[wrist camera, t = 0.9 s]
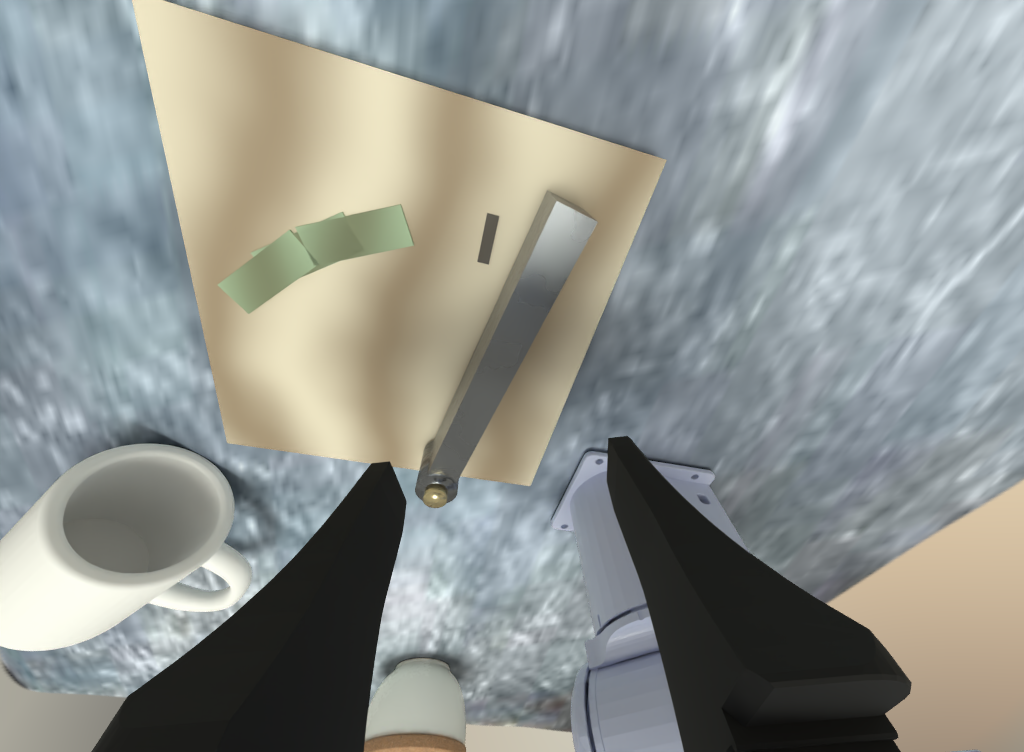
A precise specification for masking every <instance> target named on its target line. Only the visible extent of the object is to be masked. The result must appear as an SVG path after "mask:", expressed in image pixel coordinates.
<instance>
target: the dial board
mask: <svg viewBox="0 0 1024 752" xmlns="http://www.w3.org/2000/svg"><path fill="white" fill-rule="evenodd" d="M132 2H133V7H134V11H135V16H136V21H137V25H138V30H139V35H140V39H141V44H142V48H143V53H144V58H145V62H146V67H147V72H148V76H149V81H150V86H151V90H152V95H153V100H154V104H155V109H156V114H157V118H158V123H159V128H160V132H161V137H162V142H163V146H164V151H165V155H166V160H167V165H168V169H169V174H170V179H171V183H172V188H173V193H174V197H175V202H176V207H177V211H178V216H179V221H180V225H181V230H182V235H183V239H184V244H185V248H186V253H187V258H188V262H189V267H190V272H191V276H192V281H193V286H194V290H195V295H196V300H197V304H198V309H199V314H200V318H201V323H202V328H203V332H204V337H205V341H206V346H207V351H208V355H209V360H210V365H211V369H212V374H213V379H214V383H215V388H216V393H217V397H218V402H219V407H220V411H221V416H222V421H223V425H224V430H225V435H226V439H227V443H231V444H238V445H245V446H252V447H259V448H266V449H273V450H280V451H287V452H294V453H301V454H308V455H315V456H322V457H329V458H336V459H343V460H350V461H357V462H364V463H371V464H372V463H379V462H388V461H390V463H391V465H392V467H399V468H406V469H413V470H419V469H420V465H421V460H422V456H423V451H424V448H425V446H426V445H427V444H428V443H429V442H431V441H433V440H434V439H435V437H436V434H437V432H438V430H439V428H440V425H441V423H442V421H443V419H444V417H445V414H446V412H447V410H448V408H449V406H450V403H451V401H452V399H453V397H454V395H455V392H456V390H457V388H458V386H459V384H460V381H461V379H462V377H463V375H464V373H465V370H466V368H467V366H468V364H469V362H470V359H471V357H472V355H473V353H474V351H475V348H476V346H477V344H478V342H479V340H480V337H481V335H482V333H483V331H484V329H485V326H486V324H487V322H488V320H489V317H490V315H491V313H492V311H493V309H494V306H495V304H496V302H497V300H498V298H499V295H500V293H501V291H502V289H503V287H504V284H505V282H506V280H507V278H508V276H509V273H510V271H511V269H512V267H513V265H514V262H515V260H516V258H517V256H518V254H519V251H520V249H521V247H522V245H523V243H524V240H525V238H526V236H527V234H528V232H529V229H530V227H531V225H532V223H533V220H534V218H535V216H536V214H537V212H538V209H539V207H540V205H541V203H542V201H543V198H544V196H545V194H546V192H547V190H548V191H550V192H552V193H554V194H556V195H558V196H560V197H561V198H563V199H565V200H567V201H569V202H571V203H573V204H575V205H577V206H579V207H581V208H583V209H584V210H585V211H586V212H587V213H589V214H590V215H591V216H592V217H593V218H594V219H595V220H596V221H597V222H598V223H597V225H596V227H595V228H594V230H593V232H592V234H591V236H590V238H589V240H588V241H587V243H586V245H585V247H584V249H583V251H582V252H581V254H580V256H579V258H578V260H577V262H576V264H575V265H574V267H573V269H572V271H571V273H570V275H569V276H568V278H567V280H566V282H565V284H564V286H563V288H562V289H561V291H560V293H559V295H558V297H557V299H556V300H555V302H554V304H553V306H552V308H551V310H550V311H549V313H548V315H547V317H546V319H545V321H544V323H543V324H542V326H541V328H540V330H539V332H538V334H537V335H536V337H535V339H534V341H533V343H532V345H531V347H530V348H529V350H528V352H527V354H526V356H525V358H524V359H523V361H522V363H521V365H520V367H519V369H518V371H517V372H516V374H515V376H514V378H513V380H512V382H511V383H510V385H509V387H508V389H507V391H506V393H505V395H504V396H503V398H502V400H501V402H500V404H499V406H498V407H497V409H496V411H495V413H494V415H493V417H492V418H491V420H490V422H489V424H488V426H487V428H486V430H485V431H484V433H483V435H482V437H481V439H480V441H479V442H478V444H477V446H476V448H475V450H474V452H473V454H472V455H471V457H470V459H469V461H468V463H467V465H466V466H465V468H464V470H463V472H462V474H461V476H462V477H470V478H477V479H484V480H491V481H498V482H505V483H512V484H519V485H526V486H531V483H532V481H533V479H534V476H535V474H536V471H537V469H538V467H539V464H540V462H541V459H542V457H543V455H544V452H545V450H546V447H547V445H548V443H549V440H550V438H551V435H552V433H553V431H554V428H555V426H556V424H557V421H558V419H559V416H560V414H561V412H562V409H563V407H564V404H565V402H566V400H567V397H568V395H569V392H570V390H571V388H572V385H573V383H574V380H575V378H576V376H577V373H578V371H579V369H580V366H581V364H582V361H583V359H584V357H585V354H586V352H587V349H588V347H589V345H590V342H591V340H592V337H593V335H594V333H595V330H596V328H597V325H598V323H599V321H600V318H601V316H602V314H603V311H604V309H605V306H606V304H607V302H608V299H609V297H610V294H611V292H612V290H613V287H614V285H615V282H616V280H617V278H618V275H619V273H620V270H621V268H622V266H623V263H624V261H625V258H626V256H627V254H628V251H629V249H630V247H631V244H632V242H633V239H634V237H635V235H636V232H637V230H638V227H639V225H640V223H641V220H642V218H643V215H644V213H645V211H646V208H647V206H648V203H649V201H650V199H651V196H652V194H653V192H654V189H655V187H656V184H657V182H658V180H659V177H660V175H661V172H662V170H663V168H664V165H665V163H666V160H665V159H662V158H659V157H656V156H652V155H649V154H646V153H643V152H640V151H637V150H633V149H630V148H627V147H624V146H621V145H618V144H615V143H611V142H608V141H605V140H602V139H599V138H596V137H592V136H589V135H586V134H583V133H580V132H577V131H574V130H570V129H567V128H564V127H561V126H558V125H555V124H551V123H548V122H545V121H542V120H539V119H536V118H533V117H529V116H526V115H523V114H520V113H517V112H514V111H510V110H507V109H504V108H501V107H498V106H495V105H492V104H488V103H485V102H482V101H479V100H476V99H473V98H470V97H466V96H463V95H460V94H457V93H454V92H451V91H447V90H444V89H441V88H438V87H435V86H432V85H429V84H425V83H422V82H419V81H416V80H413V79H410V78H406V77H403V76H400V75H397V74H394V73H391V72H388V71H384V70H381V69H378V68H375V67H372V66H369V65H365V64H362V63H359V62H356V61H353V60H350V59H347V58H343V57H340V56H337V55H334V54H331V53H328V52H324V51H321V50H318V49H315V48H312V47H309V46H306V45H302V44H299V43H296V42H293V41H290V40H287V39H283V38H280V37H277V36H274V35H271V34H268V33H265V32H261V31H258V30H255V29H252V28H249V27H246V26H242V25H239V24H236V23H233V22H230V21H227V20H224V19H220V18H217V17H214V16H211V15H208V14H205V13H202V12H198V11H195V10H192V9H189V8H186V7H183V6H179V5H176V4H173V3H170V2H167V1H164V0H132Z"/></svg>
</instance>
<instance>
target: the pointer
mask: <svg viewBox="0 0 1024 752" xmlns="http://www.w3.org/2000/svg"><path fill="white" fill-rule="evenodd" d="M597 223H598V222H597V221H596V220H595V219H594V218H593V217H592V216H591V215H590V214H589V213H587V212H586V211H585V210H584V209H583V208H581V207H579V206H577V205H575V204H573V203H571V202H569V201H567V200H565V199H563V198H561V197H560V196H558V195H556V194H554V193H552V192H550V191H548V190H547V192H546V194H545V196H544V198H543V201H542V203H541V205H540V207H539V209H538V212H537V214H536V216H535V218H534V220H533V223H532V225H531V227H530V229H529V232H528V234H527V236H526V238H525V240H524V243H523V245H522V247H521V249H520V251H519V254H518V256H517V258H516V260H515V262H514V265H513V267H512V269H511V271H510V273H509V276H508V278H507V280H506V282H505V284H504V287H503V289H502V291H501V293H500V295H499V298H498V300H497V302H496V304H495V306H494V309H493V311H492V313H491V315H490V317H489V320H488V322H487V324H486V326H485V329H484V331H483V333H482V335H481V337H480V340H479V342H478V344H477V346H476V348H475V351H474V353H473V355H472V357H471V359H470V362H469V364H468V366H467V368H466V370H465V373H464V375H463V377H462V379H461V381H460V384H459V386H458V388H457V390H456V392H455V395H454V397H453V399H452V401H451V403H450V406H449V408H448V410H447V412H446V414H445V417H444V419H443V421H442V423H441V425H440V428H439V430H438V432H437V434H436V437H435V439H434V440H433V441H431V442H429V443H428V444H427V445H426V446H425V448H424V451H423V456H422V460H421V465H420V469H419V474H418V479H417V483H416V488H415V492H416V495H417V496H418V497H419V498H420V499H421V500H423V502H424V504H425V505H427V506H429V507H432V508H440V507H442V506H444V505H445V504H446V503H448V502H450V501H452V500H453V499H454V498H455V497H456V495H457V490H458V481H459V478H460V476H461V474H462V472H463V470H464V468H465V466H466V465H467V463H468V461H469V459H470V457H471V455H472V454H473V452H474V450H475V448H476V446H477V444H478V442H479V441H480V439H481V437H482V435H483V433H484V431H485V430H486V428H487V426H488V424H489V422H490V420H491V418H492V417H493V415H494V413H495V411H496V409H497V407H498V406H499V404H500V402H501V400H502V398H503V396H504V395H505V393H506V391H507V389H508V387H509V385H510V383H511V382H512V380H513V378H514V376H515V374H516V372H517V371H518V369H519V367H520V365H521V363H522V361H523V359H524V358H525V356H526V354H527V352H528V350H529V348H530V347H531V345H532V343H533V341H534V339H535V337H536V335H537V334H538V332H539V330H540V328H541V326H542V324H543V323H544V321H545V319H546V317H547V315H548V313H549V311H550V310H551V308H552V306H553V304H554V302H555V300H556V299H557V297H558V295H559V293H560V291H561V289H562V288H563V286H564V284H565V282H566V280H567V278H568V276H569V275H570V273H571V271H572V269H573V267H574V265H575V264H576V262H577V260H578V258H579V256H580V254H581V252H582V251H583V249H584V247H585V245H586V243H587V241H588V240H589V238H590V236H591V234H592V232H593V230H594V228H595V227H596V225H597Z"/></svg>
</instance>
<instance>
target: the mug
mask: <svg viewBox="0 0 1024 752" xmlns="http://www.w3.org/2000/svg"><path fill="white" fill-rule="evenodd" d="M234 511H235V503H234V497H233V492H232V490H231V487H230V485H229V483H228V481H227V479H226V478H225V476H224V475H223V474H222V472H221V471H220V470H219V469H218V468H217V467H216V466H215V465H214V464H212V463H211V462H210V461H208V460H207V459H205V458H204V457H202V456H200V455H198V454H196V453H194V452H192V451H189V450H186V449H183V448H180V447H176V446H171V445H165V444H149V443H148V444H133V445H126V446H121V447H116V448H112V449H109V450H106V451H103V452H100V453H98V454H95V455H93V456H91V457H89V458H87V459H85V460H83V461H81V462H79V463H78V464H76V465H75V466H73V467H72V468H70V469H69V470H68V471H66V472H65V473H64V474H63V475H62V476H61V477H60V478H59V479H58V480H57V481H56V482H55V483H54V484H53V485H52V486H51V487H50V488H49V489H48V490H47V491H46V492H45V493H44V495H43V496H42V497H41V498H40V499H39V500H38V501H37V502H36V503H35V504H34V505H33V506H32V507H31V508H30V509H29V511H28V512H27V513H26V514H25V515H24V516H23V517H22V518H21V519H20V520H19V521H18V522H17V523H16V524H15V526H14V527H13V528H12V529H11V530H10V531H9V532H8V533H7V534H6V535H5V536H4V537H3V538H2V539H1V540H0V646H2V647H6V648H10V649H15V650H23V651H44V650H52V649H58V648H63V647H67V646H71V645H74V644H77V643H81V642H83V641H86V640H88V639H91V638H93V637H95V636H97V635H100V634H101V633H103V632H105V631H107V630H109V629H110V628H112V627H114V626H115V625H117V624H118V623H120V622H121V621H122V620H124V619H125V618H127V617H128V616H130V615H131V614H133V613H134V612H135V611H137V610H138V609H140V608H141V607H143V606H144V605H146V604H147V603H151V604H154V605H158V606H162V607H166V608H171V609H176V610H183V611H194V612H209V611H218V610H223V609H226V608H228V607H230V606H232V605H233V604H235V603H236V602H237V601H238V600H239V599H240V598H241V597H242V596H243V595H244V594H245V592H246V591H247V589H248V587H249V586H250V583H251V580H252V569H251V566H250V564H249V562H248V561H247V560H246V559H245V558H244V556H242V555H241V554H240V553H239V552H238V551H236V550H235V549H234V548H232V547H231V546H229V545H227V544H226V543H224V541H225V539H226V537H227V535H228V533H229V531H230V529H231V526H232V523H233V518H234ZM200 566H202V567H204V568H206V569H208V570H210V571H212V572H214V573H216V574H217V575H219V576H220V577H222V578H223V579H224V580H225V581H226V582H227V583H228V584H229V587H227V588H225V589H222V590H216V591H209V590H202V589H198V588H194V587H191V586H188V585H185V584H182V583H180V582H179V581H180V580H182V579H183V578H185V577H186V576H188V575H189V574H190V573H192V572H193V571H195V570H196V569H198V568H199V567H200Z"/></svg>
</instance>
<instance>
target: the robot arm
mask: <svg viewBox="0 0 1024 752" xmlns="http://www.w3.org/2000/svg"><path fill="white" fill-rule="evenodd" d="M598 459H600V460H598ZM714 479H715V475H714V474H713V472H712V471H710V470H705V469H699V468H692V467H686V466H680V465H674V464H668V463H662V462H656V461H650V460H648V459H647V458H646V457H645V455H644V454H643V453H642V452H641V451H640V450H639V448H638V447H637V446H636V445H635V444H634V442H633V441H632V440H631V439H630V438H629V437H628V436H624V437H615V438H608V454H607V453H601V452H595V451H590V452H587V453H586V454H585V455H584V456H583V458H582V460H581V462H580V464H579V466H578V468H577V470H576V472H575V474H574V476H573V478H572V480H571V482H570V484H569V486H568V488H567V490H566V492H565V494H564V496H563V498H562V500H561V502H560V504H559V506H558V508H557V510H556V512H555V514H554V516H553V518H552V520H551V526H552V528H554V529H557V530H565V531H573V532H575V537H576V542H577V547H578V552H579V557H580V562H581V567H582V572H583V577H584V582H585V587H586V592H587V597H588V602H589V608H590V613H591V618H592V623H593V628H594V633H595V637H594V638H592V639H590V640H587V641H586V642H585V647H586V653H587V659H588V663H586V664H584V665H583V666H581V668H580V669H579V671H578V673H577V676H576V679H575V685H574V689H573V693H572V700H571V725H572V734H573V742H574V747H575V752H901V751H900V750H899V749H898V747H897V746H896V744H895V742H894V741H893V740H895V739H897V738H898V734H897V732H896V730H895V729H894V727H893V726H892V724H891V723H890V721H889V720H888V718H887V717H886V715H885V713H886V712H888V711H889V710H890V709H892V708H893V707H894V706H896V705H897V704H898V703H900V702H901V701H902V700H904V699H905V698H906V697H907V696H908V695H909V694H910V690H911V682H910V680H909V679H908V678H907V676H906V675H905V673H904V672H903V671H902V669H901V668H900V667H899V666H898V664H897V663H896V661H895V660H894V659H893V657H892V656H891V655H890V654H889V652H888V651H887V650H886V648H885V647H884V646H883V645H882V644H881V643H880V641H879V640H878V639H877V638H876V637H875V636H874V634H873V633H872V632H871V631H870V630H869V629H868V628H866V627H864V626H863V625H861V624H859V623H857V622H856V621H854V620H852V619H851V618H849V617H847V616H845V615H844V614H842V613H840V612H839V611H837V610H835V609H834V608H832V607H830V606H828V605H827V604H825V603H823V602H822V601H820V600H818V599H817V598H815V597H813V596H812V595H810V594H809V593H807V592H806V591H804V590H803V589H801V588H799V587H798V586H796V585H795V584H793V583H792V582H790V581H789V580H787V579H786V578H784V577H783V576H781V575H780V574H779V573H777V572H776V571H774V570H773V569H772V568H770V567H769V566H767V565H766V564H765V563H763V562H762V561H760V560H759V559H757V558H756V557H755V556H753V555H752V554H750V552H749V551H748V549H747V547H746V546H745V544H744V542H743V541H742V539H741V537H740V536H739V534H738V532H737V531H736V529H735V527H734V526H733V524H732V522H731V521H730V519H729V517H728V516H727V514H726V512H725V511H724V509H723V507H722V506H721V504H720V503H719V501H718V499H717V498H716V496H715V494H714V493H713V491H712V489H711V488H710V486H709V485H710V484H711V483H712V482H713V480H714ZM405 510H406V499H405V497H404V494H403V492H402V489H401V487H400V484H399V482H398V480H397V477H396V475H395V472H394V470H393V467H392V465H391V463H390V461H388V462H379V463H372V464H371V465H370V466H369V467H368V469H367V470H366V471H365V472H364V474H363V475H362V476H361V478H360V479H359V480H358V481H357V483H356V484H355V485H354V487H353V488H352V489H351V491H350V492H349V493H348V494H347V496H346V497H345V498H344V500H343V501H342V502H341V503H340V504H339V506H338V507H337V508H336V509H335V511H334V512H333V513H332V514H331V516H330V517H329V518H328V519H327V521H326V522H325V523H324V524H323V525H322V526H321V528H320V529H319V530H318V531H317V532H316V533H315V535H314V536H313V537H312V538H311V539H310V540H309V541H308V543H307V544H306V545H305V546H304V547H303V548H302V549H301V550H300V551H299V553H298V554H297V555H296V556H295V557H294V558H293V559H292V560H291V561H290V562H289V563H288V564H287V565H286V566H285V567H284V568H283V569H282V570H281V571H280V572H279V573H278V574H277V575H276V576H275V577H274V578H273V579H272V580H271V581H270V582H269V583H268V584H267V585H266V586H265V587H264V588H262V589H261V590H260V591H259V592H258V593H257V594H256V595H255V596H254V597H253V598H251V599H250V600H249V601H248V602H247V603H246V604H245V605H244V606H243V607H241V608H240V609H239V610H238V611H237V612H236V613H235V614H234V615H232V616H231V617H230V618H229V619H228V620H227V621H225V622H224V623H223V624H222V625H221V626H219V627H218V628H217V629H216V630H215V631H213V632H212V633H211V634H210V635H208V636H207V637H206V638H205V639H204V640H202V641H201V642H200V643H199V644H197V645H196V646H195V647H194V648H192V649H191V650H190V651H188V652H187V653H186V654H185V655H183V656H182V657H181V658H179V659H178V660H177V661H175V662H174V663H173V664H171V665H170V666H169V667H167V668H166V669H165V670H163V671H162V672H160V673H159V674H158V675H156V676H155V677H154V678H152V679H151V680H150V681H148V682H147V683H146V684H144V685H143V686H142V687H140V688H139V689H137V690H136V691H135V692H133V693H132V694H130V695H129V696H128V697H127V698H126V700H125V701H124V703H123V704H122V706H121V707H120V709H119V711H118V712H117V714H116V715H115V717H114V718H113V720H112V721H111V723H110V724H109V726H108V727H107V729H106V730H105V732H104V733H103V735H102V737H101V738H100V740H99V741H98V743H97V744H96V746H95V747H94V749H93V750H92V752H364V744H365V733H366V724H367V716H368V707H369V699H370V690H371V683H372V676H373V668H374V661H375V654H376V648H377V641H378V635H379V629H380V623H381V617H382V612H383V608H384V603H385V599H386V595H387V591H388V587H389V584H390V580H391V576H392V572H393V568H394V564H395V560H396V557H397V553H398V549H399V545H400V541H401V537H402V532H403V526H404V519H405ZM953 752H980V751H978V750H966V751H953Z"/></svg>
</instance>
